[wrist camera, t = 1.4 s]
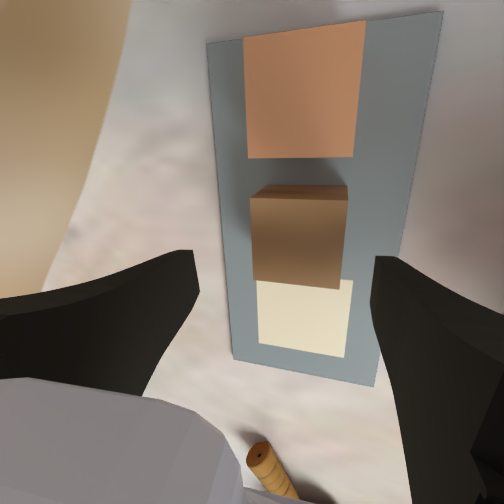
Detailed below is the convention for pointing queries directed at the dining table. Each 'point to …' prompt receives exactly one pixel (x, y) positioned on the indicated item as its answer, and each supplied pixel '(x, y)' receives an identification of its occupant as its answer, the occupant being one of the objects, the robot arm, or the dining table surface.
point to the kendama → (269, 470)
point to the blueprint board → (325, 173)
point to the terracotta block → (303, 91)
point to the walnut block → (299, 234)
